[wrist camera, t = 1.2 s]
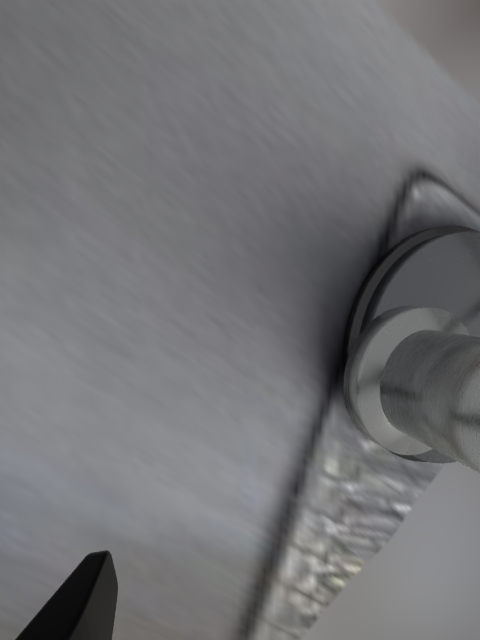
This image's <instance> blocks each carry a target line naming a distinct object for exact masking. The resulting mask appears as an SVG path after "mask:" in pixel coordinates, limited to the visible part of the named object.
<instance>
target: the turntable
mask: <svg viewBox="0 0 480 640" xmlns="http://www.w3.org/2000/svg"><path fill="white" fill-rule="evenodd" d="M400 306H417V307H428V308H438V309H441V310H445V311H447V312H449V313H451V314H452V315H454V316H455V317H456V318H457V319H458V320H459V321H460V322H461V323H462V324H463V325H464V327H465V328H466V329H467V331H468V333H469V335H470V336H475V337H480V232H478V231H476V230H473V229H470V228H466V227H461V226H445V227H438V228H432V229H427V230H424V231H421V232H418V233H415V234H413V235H412V236H410V237H408V238H406V239H404V240H403V241H401V242H400V243H398V244H397V245H396V246H394V247H393V248H392V249H391V250H390V251H389V252H388V253H386V254H385V255H384V256H383V257H382V258H381V260H380V261H379V262H378V263H377V264H376V266H375V267H374V268H373V269H372V271H371V272H370V274H369V275H368V277H367V279H366V280H365V282H364V283H363V285H362V287H361V289H360V291H359V293H358V295H357V298H356V300H355V303H354V305H353V308H352V311H351V314H350V317H349V321H348V326H347V330H346V336H345V344H344V372H345V367H346V363H347V359H348V357H349V354H350V351H351V349H352V347H353V345H354V343H355V341H356V339H357V338H358V336H359V335H360V333H361V332H362V331H363V329H364V328H365V327H366V326H367V325H368V324H369V323H370V322H371V321H372V320H373V319H375V318H376V317H377V316H378V315H380V314H382V313H384V312H385V311H387V310H390V309H392V308H396V307H400ZM385 449H386V448H385ZM388 451H389V450H388ZM390 452H392V451H390ZM392 453H393V454H396V455H398V456H400V457H402V458H405V459H409V460H412V461H421V462H432V463H451V462H456V461H455V460H453V459H452V458H450V457H448V456H446V455H444V454H442V453H440V452H438V451H436V450H434V449H431V450H429V451H427V452H424V453H421V454H417V455H401V454H397V453H394V452H392Z"/></svg>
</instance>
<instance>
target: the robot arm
mask: <svg viewBox="0 0 480 640" xmlns="http://www.w3.org/2000/svg"><path fill="white" fill-rule="evenodd" d="M117 594H118V582H117V577H116V573H115V568H114V564H113V560H112V556H111V553H110V552H109V551H107V550H105V551H99V552H94V553H90V554H88V555H87V556H86V557H85V558H84V559H83V560H82V562H81V563H80V564H79V565H78V566H77V568H76V569H75V570H74V571H73V572H72V573H71V575H70V576H69V577H68V578H67V579H66V580H65V582H64V583H63V584H62V585H61V586H60V588H59V589H58V590H57V591H56V592H55V593H54V595H53V596H52V597H51V598H50V599H49V600H48V602H47V603H46V604H45V605H44V606H43V608H42V609H41V610H40V611H39V612H38V613H37V615H36V616H35V617H34V618H33V619H32V620H31V622H30V623H29V624H28V625H27V626H26V628H25V629H24V630H23V631H22V632H21V633H20V635H19V636H18V637H17V638H16V639H15V640H112V633H113V625H114V618H115V610H116V602H117Z"/></svg>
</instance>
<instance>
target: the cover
mask: <svg viewBox="0 0 480 640" xmlns="http://www.w3.org/2000/svg"><path fill="white" fill-rule="evenodd" d="M343 390H344V399H345V404H346V408H347V411H348V413H349V416H350V418H351V420H352V421H353V423H354V424H355V426H356V427H357V429H358V430H359V431H360V432H361V433H362V434H364V435H365V436H367V437H368V438H369V439H371V440H373V441H374V442H376V443H378V444H379V445H381V446H382V447H384V448H386V449H387V450H389V451H392V452H394V453H397V454H401V455H417V454H421V453H424V452H427V451H429V450H431V449H434V450H436V451H438V452H440V453H442V454H444V455H446V456H448V457H450V458H452V459H453V460H455V461H457V462H459V463H461V464H463V465H465V466H467V467H469V468H471V469H473V470H475V471H477V472H478V473H480V337H475V336H470V335H469V333H468V331H467V329H466V328H465V327H464V325H463V324H462V323H461V322H460V321H459V320H458V319H457V318H456V317H455V316H454V315H452V314H451V313H449V312H447V311H445V310H441V309H438V308H428V307H417V306H400V307H396V308H392V309H390V310H387V311H385V312H384V313H382V314H380V315H378V316H377V317H376V318H375V319H373V320H372V321H371V322H370V323H369V324H368V325H367V326H366V327H365V328H364V329H363V331H362V332H361V333H360V335H359V336H358V338H357V339H356V341H355V343H354V345H353V347H352V349H351V351H350V354H349V357H348V359H347V363H346V367H345V372H344V384H343Z"/></svg>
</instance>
